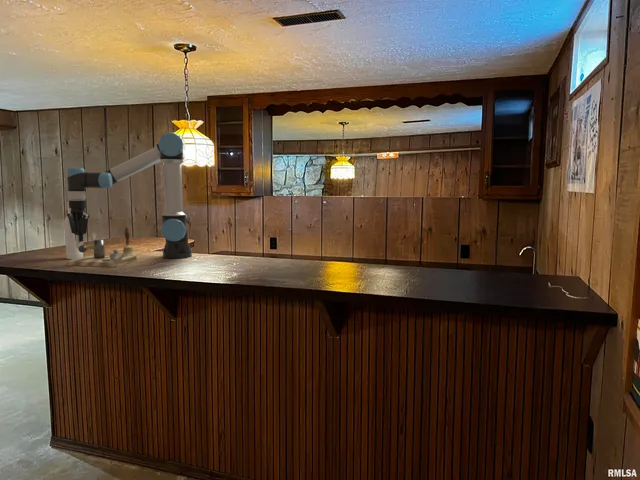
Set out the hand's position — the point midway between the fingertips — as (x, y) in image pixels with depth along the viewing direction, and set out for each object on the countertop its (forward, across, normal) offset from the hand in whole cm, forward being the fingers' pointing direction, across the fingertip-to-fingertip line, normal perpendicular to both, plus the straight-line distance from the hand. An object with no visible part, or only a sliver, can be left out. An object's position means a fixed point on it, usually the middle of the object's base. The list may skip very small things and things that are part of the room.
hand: (79, 247), depth 223 cm
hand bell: (+8, -4, -26) cm, 28 cm away
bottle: (+8, +17, -10) cm, 21 cm away
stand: (+8, -7, -7) cm, 13 cm away
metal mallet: (+6, -4, -3) cm, 8 cm away
